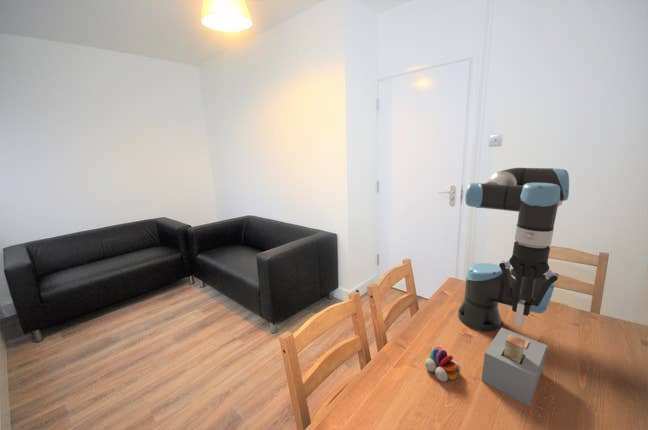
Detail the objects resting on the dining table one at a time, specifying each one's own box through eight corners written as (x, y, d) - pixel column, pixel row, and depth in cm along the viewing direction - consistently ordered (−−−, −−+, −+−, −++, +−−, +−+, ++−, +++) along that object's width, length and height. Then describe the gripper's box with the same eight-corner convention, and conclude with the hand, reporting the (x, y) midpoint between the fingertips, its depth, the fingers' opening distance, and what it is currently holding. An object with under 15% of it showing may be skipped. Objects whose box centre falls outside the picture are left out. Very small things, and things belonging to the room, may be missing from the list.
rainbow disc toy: (445, 388, 81) (447, 367, 80) (420, 366, 90) (421, 347, 88) (464, 376, 85) (466, 357, 83) (438, 356, 93) (440, 338, 92)
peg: (501, 366, 81) (505, 340, 78) (505, 359, 83) (509, 333, 81) (517, 374, 78) (522, 347, 76) (520, 366, 81) (525, 340, 78)
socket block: (481, 380, 83) (485, 351, 81) (497, 352, 94) (501, 326, 91) (529, 406, 75) (535, 375, 72) (541, 372, 85) (547, 344, 83)
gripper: (498, 241, 73) (488, 319, 79) (562, 253, 64) (545, 341, 70) (506, 234, 78) (496, 308, 84) (567, 245, 69) (550, 327, 75)
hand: (518, 323), depth 77 cm, fingers closed
